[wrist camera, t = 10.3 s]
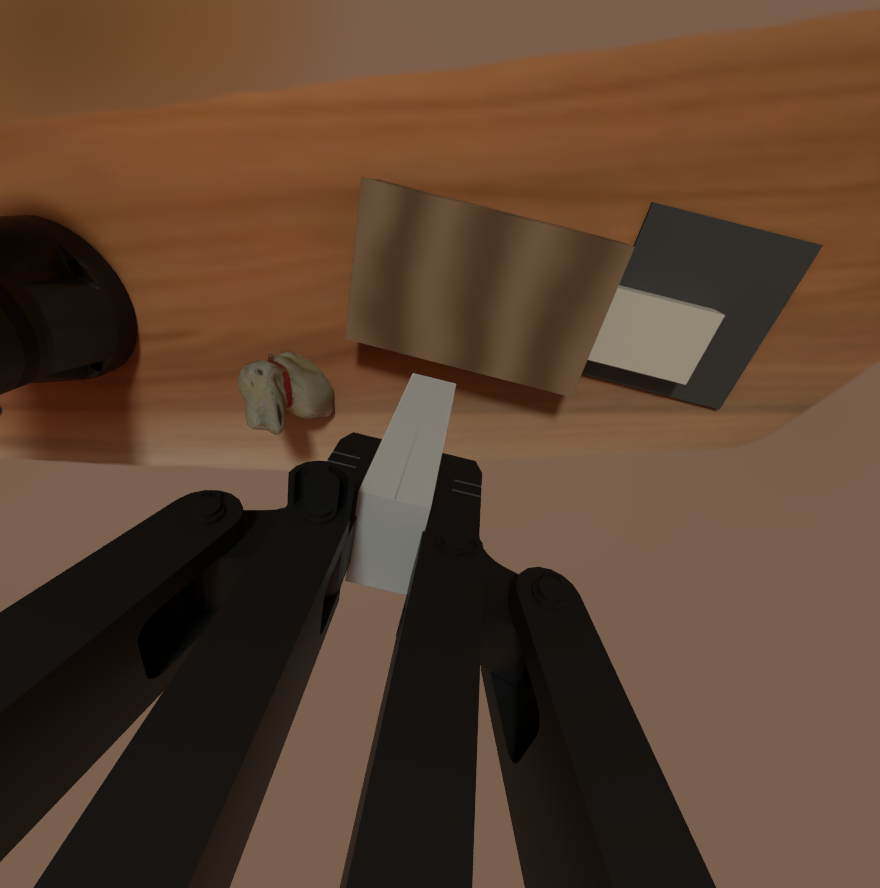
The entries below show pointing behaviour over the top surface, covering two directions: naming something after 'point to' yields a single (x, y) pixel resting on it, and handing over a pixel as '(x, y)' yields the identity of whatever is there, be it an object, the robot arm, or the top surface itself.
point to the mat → (712, 292)
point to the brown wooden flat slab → (479, 286)
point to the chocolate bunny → (283, 391)
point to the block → (654, 334)
